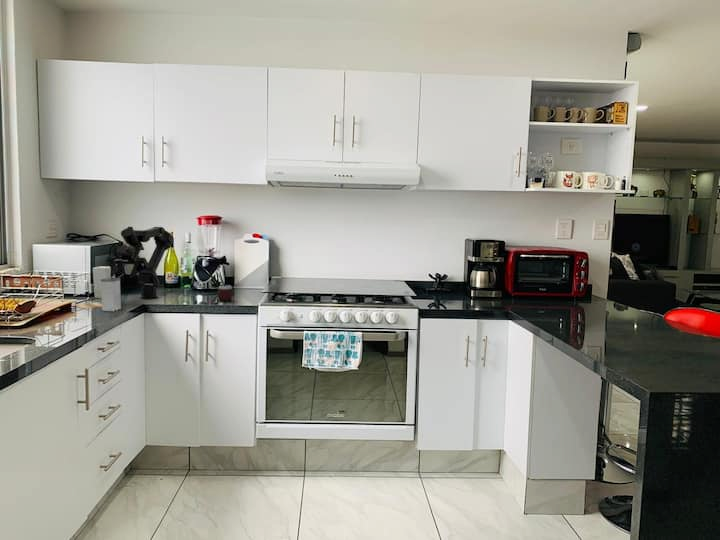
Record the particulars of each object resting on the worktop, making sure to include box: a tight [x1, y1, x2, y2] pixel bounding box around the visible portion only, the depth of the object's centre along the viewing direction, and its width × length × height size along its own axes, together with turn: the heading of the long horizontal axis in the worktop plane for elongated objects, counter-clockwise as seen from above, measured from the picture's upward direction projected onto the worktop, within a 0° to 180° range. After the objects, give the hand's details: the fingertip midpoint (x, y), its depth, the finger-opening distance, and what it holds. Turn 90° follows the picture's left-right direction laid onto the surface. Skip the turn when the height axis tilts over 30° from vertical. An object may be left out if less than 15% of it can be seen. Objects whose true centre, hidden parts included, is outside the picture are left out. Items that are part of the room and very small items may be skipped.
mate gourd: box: [214, 270, 234, 303], centre depth 267 cm, size 8×8×15 cm
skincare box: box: [92, 265, 116, 299], centre depth 272 cm, size 8×7×16 cm
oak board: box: [74, 301, 102, 310], centre depth 250 cm, size 12×12×1 cm
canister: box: [100, 277, 122, 312], centre depth 240 cm, size 6×6×14 cm
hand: (120, 276), depth 247 cm, fingers open, 9 cm apart
